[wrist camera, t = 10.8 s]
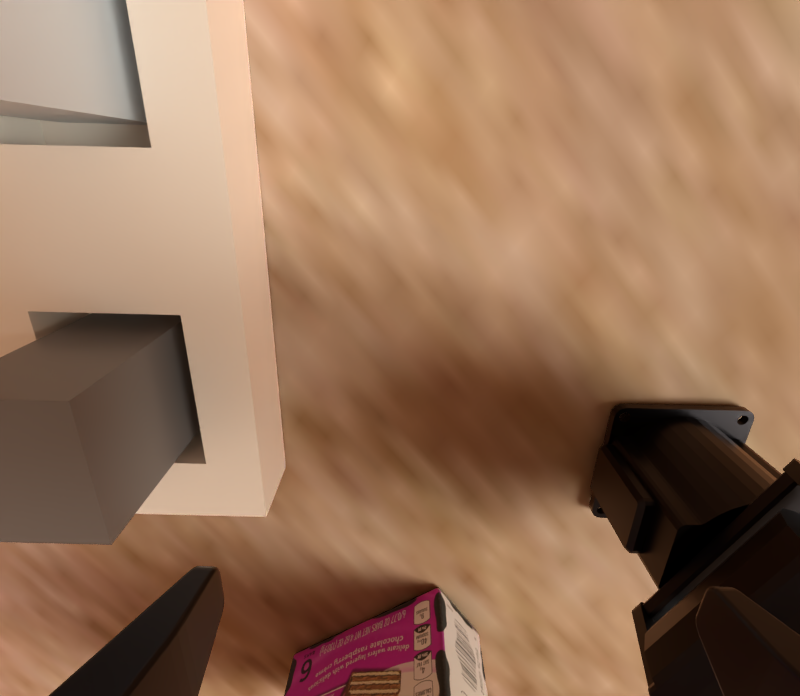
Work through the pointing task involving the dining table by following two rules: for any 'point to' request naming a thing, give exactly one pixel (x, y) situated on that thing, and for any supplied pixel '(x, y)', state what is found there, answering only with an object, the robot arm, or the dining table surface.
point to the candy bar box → (396, 655)
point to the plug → (69, 62)
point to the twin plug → (91, 426)
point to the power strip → (160, 242)
